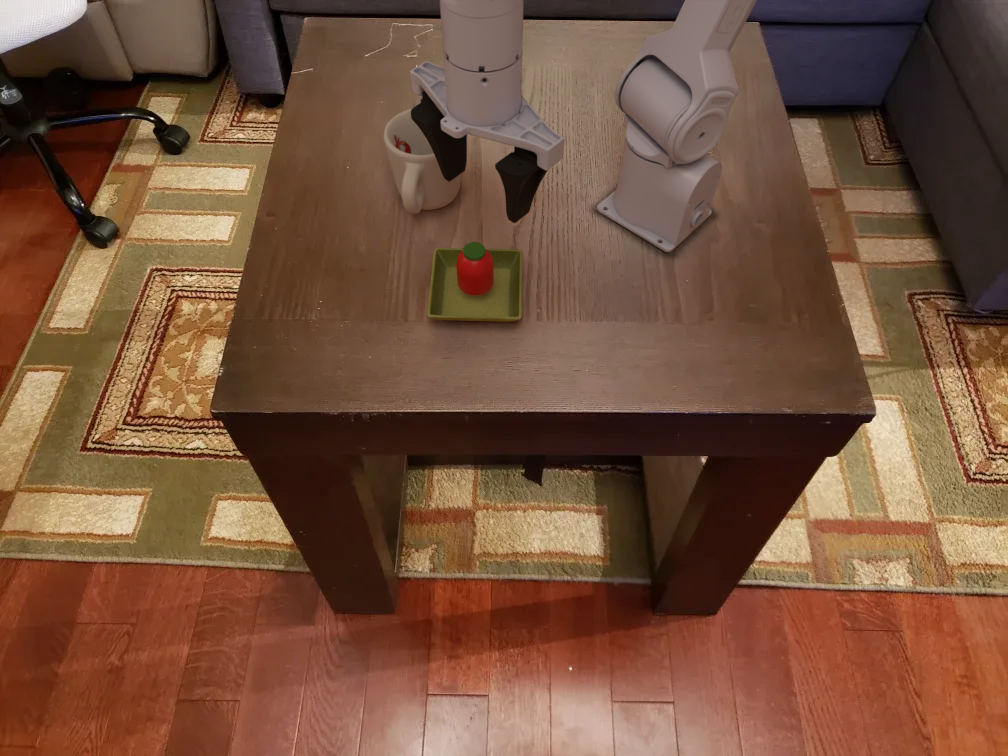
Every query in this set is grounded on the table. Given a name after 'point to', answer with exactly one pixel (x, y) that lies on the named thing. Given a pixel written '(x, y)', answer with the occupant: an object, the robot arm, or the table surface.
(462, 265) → the strawberry
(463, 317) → the green square tray
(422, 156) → the cup
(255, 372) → the table surface
